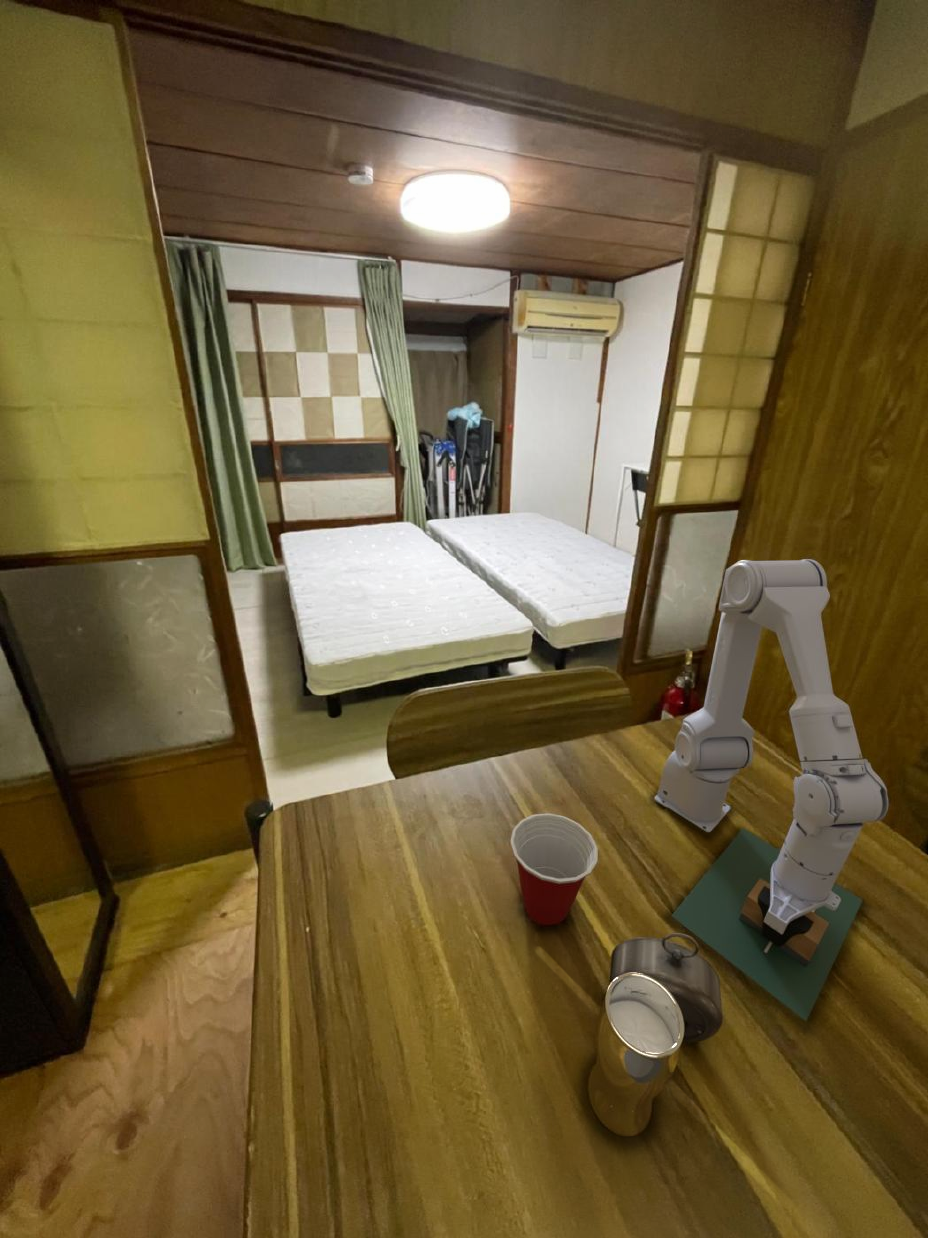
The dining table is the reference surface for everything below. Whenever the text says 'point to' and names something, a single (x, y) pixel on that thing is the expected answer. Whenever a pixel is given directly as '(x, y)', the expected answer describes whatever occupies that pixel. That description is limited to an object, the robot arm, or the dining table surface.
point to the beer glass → (633, 1051)
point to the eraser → (797, 945)
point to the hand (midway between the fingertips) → (778, 928)
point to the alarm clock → (676, 979)
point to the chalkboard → (719, 926)
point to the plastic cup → (551, 864)
